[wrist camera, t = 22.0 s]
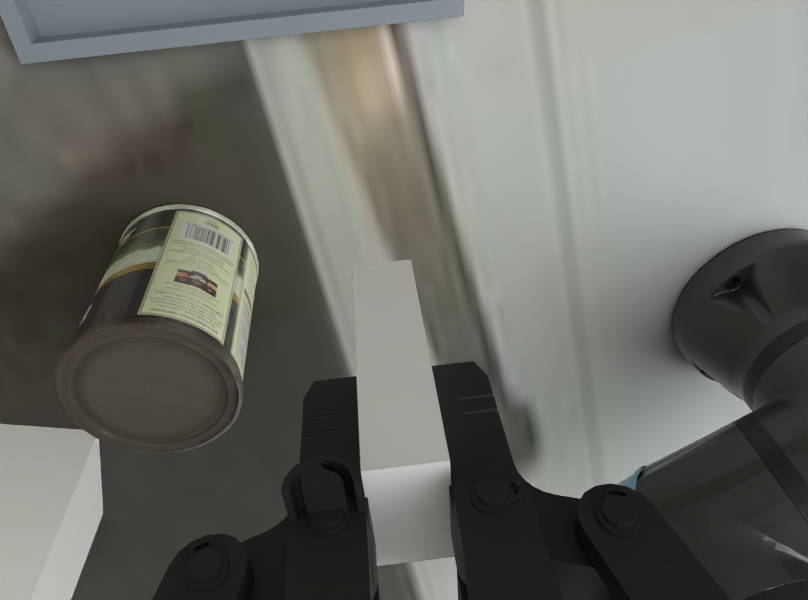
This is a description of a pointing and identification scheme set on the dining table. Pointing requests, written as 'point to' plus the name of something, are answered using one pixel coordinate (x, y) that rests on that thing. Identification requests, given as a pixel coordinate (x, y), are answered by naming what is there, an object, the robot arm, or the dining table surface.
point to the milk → (46, 509)
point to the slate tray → (189, 22)
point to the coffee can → (164, 334)
